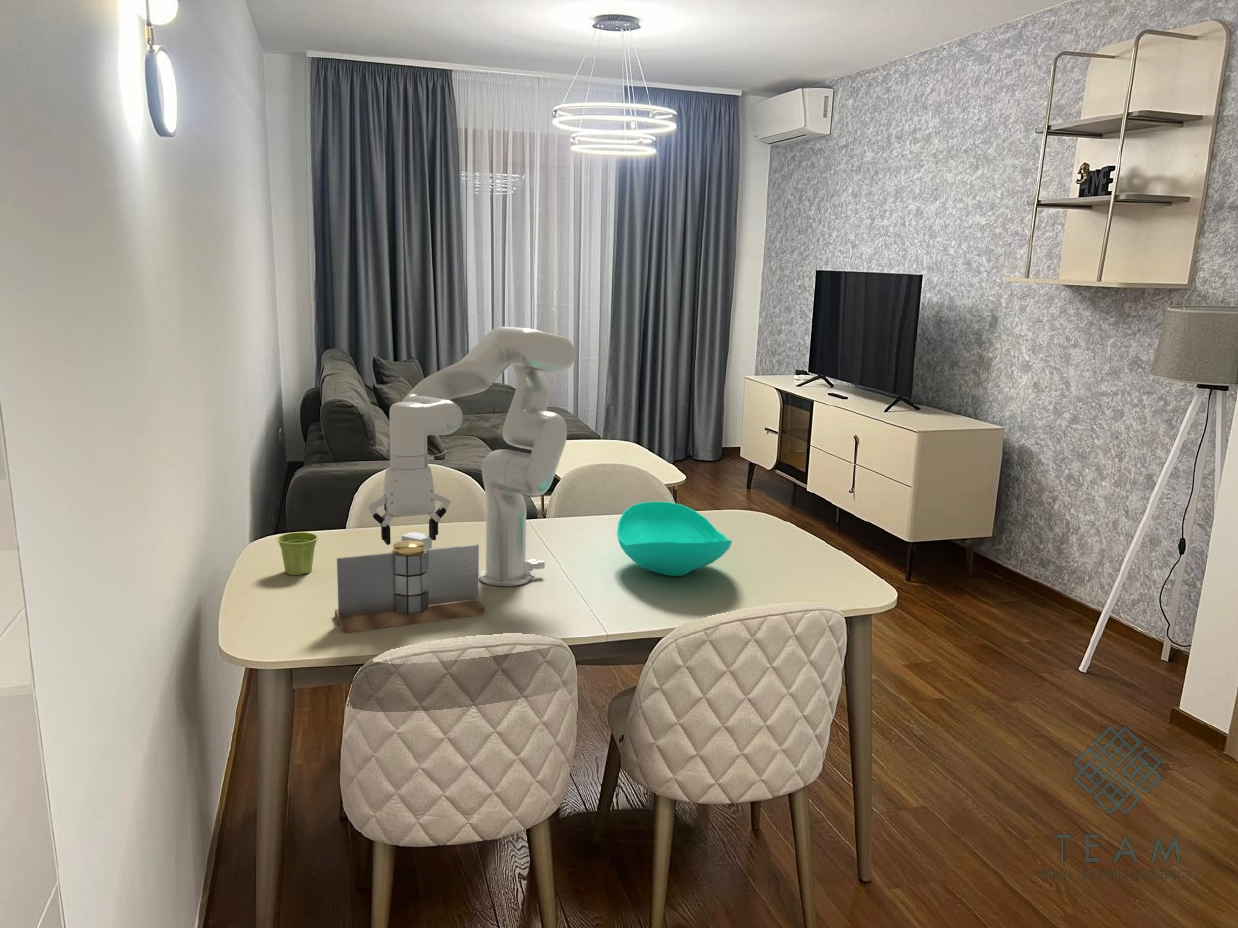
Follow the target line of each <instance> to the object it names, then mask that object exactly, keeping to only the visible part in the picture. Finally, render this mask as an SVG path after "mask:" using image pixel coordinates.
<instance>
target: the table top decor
mask: <svg viewBox="0 0 1238 928" xmlns="http://www.w3.org/2000/svg"><path fill="white" fill-rule="evenodd" d="M616 529H617V531H616V536H617V540H618V543H619V546H620V548H621V550H622V551H623V553H625V555H626V556H627V557H628V558H629V559H631V560H632V562H634V563H636V564H637V565H638V566H640V567H641V568H644V569H646V570H648V571H650V572H651V571H652V572H653V573H657V574H660V575H663V576H668V577H681V576H685V575H687V574H689V573H690V572H692V571H694V570H699V569H701V568H704V567H706V566H708V565H710V564H713V563H714V562H716V561H717V560H719V559H720V558H721V557H723V556H724V554H725V553H727V552H728V551H729V549H730V548H731V545H732V543H733V540H732V539H729V538H727V536H725V534H723V533H722V532H720V531H719V530H718V529H717V528H716V527H715V526H713V524H712V523H711V522H710V521H709V520H708V519H707V518H706V517H704V516H703V515H702V514H700V513H699V512H698V511H697V510H694V509H692V508H690V507H688V506H686V505H683V504H680V503H677V502H676V503H674V502H670V501H646V502H645V501H644V502H640V503H639V502H638V503H636V504H632V505H631V506H629V507H628V508H627V509H626V510H625V511H623V512H622V515H621V516H620V518H619V520H618V522H617V528H616Z"/></svg>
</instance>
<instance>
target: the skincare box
mask: <svg viewBox="0 0 1238 928" xmlns="http://www.w3.org/2000/svg"><path fill="white" fill-rule="evenodd" d="M409 540H411V541H420V542H423V543H424V548H426V550H427V551H428V549H433V547H432V543H433V540H432V539H431V538H430V537H429V534H425V533H421V532H415V531H411V532H408V533H405V534H403V535H401V541H409Z"/></svg>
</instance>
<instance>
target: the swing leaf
mask: <svg viewBox="0 0 1238 928" xmlns="http://www.w3.org/2000/svg"><path fill="white" fill-rule="evenodd" d="M479 546H480V545H479V544H478V543H477V544H468V545H466V544H465V545H455V546H445V547H437V548H432V549H428V570H427V571H425V572H424V573H420V574H417V575H401V574H396V573H394V593H396V594H402V595H415V594H421V593H424V592H425V591H427V590H428V591H429V605H435V604H443V603H451V602H459V601H467V600H475V599H477V600H479V595H480V594H479V591H480V590H479V588H480V587H479V581H480V578H479V574H480V573H479V569H480V568H479V567H480V566H479V563H480V561H479V558H480V556H479V554H480V553H479Z"/></svg>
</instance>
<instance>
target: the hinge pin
mask: <svg viewBox="0 0 1238 928" xmlns="http://www.w3.org/2000/svg"><path fill="white" fill-rule="evenodd" d="M392 547H393V550H392V551H393V553H394V554H396V555H400V556H415V555H420V554H422V553H424V543H423V542H420V541H411V540H409V541H402V540H400V541H396V542H395V543H393V545H392ZM401 575H402V574H401ZM415 575H417V574H415ZM415 595H416V594H415Z"/></svg>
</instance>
